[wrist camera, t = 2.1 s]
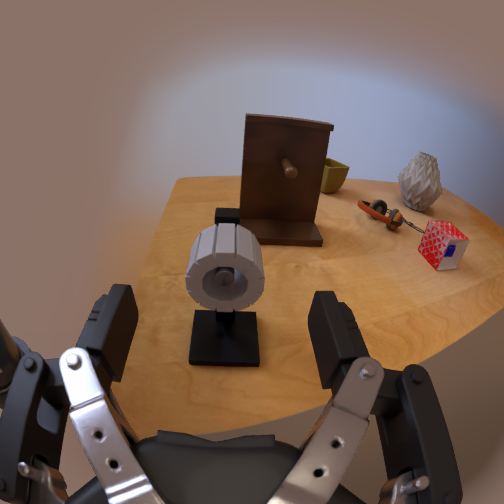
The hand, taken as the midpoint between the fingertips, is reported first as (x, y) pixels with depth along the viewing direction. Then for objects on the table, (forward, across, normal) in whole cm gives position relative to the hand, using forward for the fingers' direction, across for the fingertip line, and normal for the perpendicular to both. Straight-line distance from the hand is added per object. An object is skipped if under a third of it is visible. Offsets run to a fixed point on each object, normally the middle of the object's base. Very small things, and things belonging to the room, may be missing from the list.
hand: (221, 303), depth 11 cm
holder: (+13, 0, +19) cm, 23 cm away
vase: (+63, -60, +19) cm, 89 cm away
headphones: (+48, -40, +19) cm, 65 cm away
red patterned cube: (+32, -47, +19) cm, 60 cm away
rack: (+40, -10, +19) cm, 45 cm away
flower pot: (+67, -28, +19) cm, 75 cm away
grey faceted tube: (+12, 0, +7) cm, 13 cm away
